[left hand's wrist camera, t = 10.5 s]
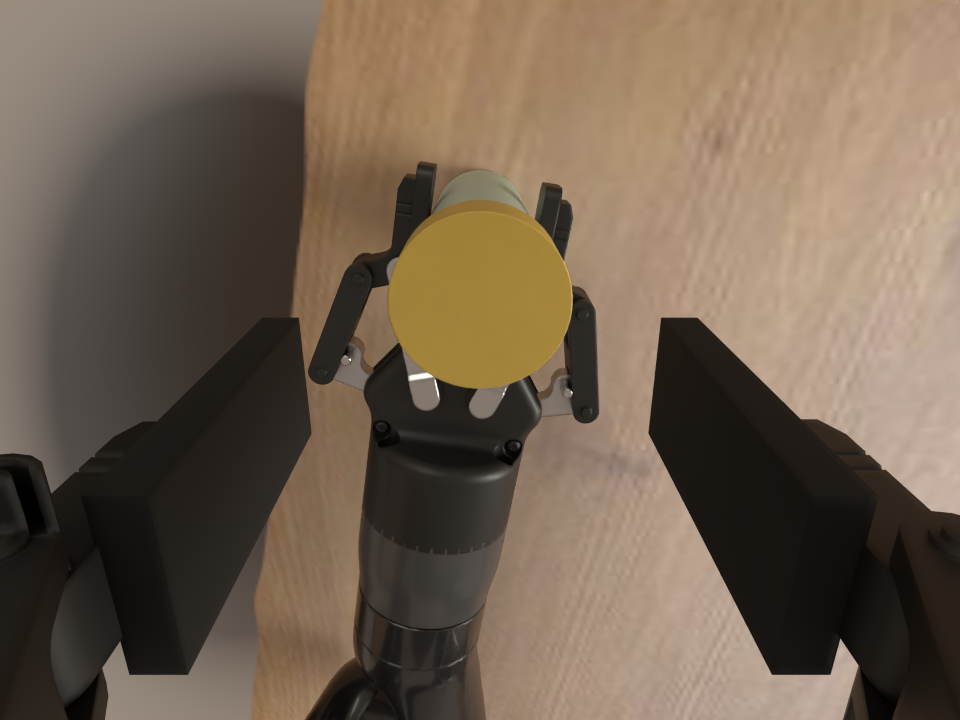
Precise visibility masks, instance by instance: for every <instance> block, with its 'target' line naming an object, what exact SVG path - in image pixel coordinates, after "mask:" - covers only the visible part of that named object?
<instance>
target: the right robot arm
mask: <svg viewBox="0 0 960 720" xmlns="http://www.w3.org/2000/svg"><path fill="white" fill-rule="evenodd" d="M436 169H437V164H434V163H428V162H422V161H421V162H420V163H419V164H418V166H417V172H416V175H413V174H407V175H406V176H405V177H404V178H403V180H402V182H401V184H400V186H399V188H398V193H397V203H396V213H395V220H394V230H393V239H392V246H391V248H390V249H389V250H387V251H385V252H380V253H375V254H370V253H362V254H360V255H358V256H357V257H356V258H355V260H354V261H353V263H352V265H350V266H349V267H348V268H347V270H346V271H345V273H344V275H343V278H342V281H341V283H340V286H339V289H338V291H337V294H336V297H335V299H334V302H333V305H332V307H331V310H330V313H329V315H328V318H327V321H326V323H325V326H324V329H323V331H322V334H321V337H320V339H319V342H318V345H317V347H316V350H315V353H314V355H313V358H312V361H311V363H310V366H309V369H308V374H309V377H310V378H311V380H312V381H314V382H315V383H317V384H321V385H324V384H328V383H330V382H331V381H332V380H336V381H338V382H341V383H344V384H346V385H349V386H351V387H354V388H356V389H359V390H361V391H364V397H365V400H366V402H367V404H368V406H369V409H370V412H371V418H372V422H371V432H370V441H369V450H368V459H367V468H366V477H365V486H364V495H363V504H362V514H361V523H360V531H359V547H358V551H359V569H360V574H359V583H358V592H357V601H356V610H355V619H354V632H353V645H354V651H355V656H356V657H355V658H353V659H351V660H350V661H348V662H347V663H346V664H344V665H343V666H342V667H341V668H340V669H339V670H338V671H337V673H336V674H335V675H334V677H333V678H332V679H331V681H330V682H329V683H328V685H327V686H326V688H325V689H324V691H323V692H322V694H321V696H320V697H319V699H318V700H317V702H316V703H315V705H314V706H313V708H312V710H311V711H310V713H309V714H308V715H307V717H306V718H305V720H486V716H485V705H484V698H483V690H482V683H481V675H480V664H479V657H478V652H477V641H478V636H479V632H480V628H481V623H482V618H483V613H484V608H485V604H486V599H487V594H488V591H489V588H490V585H491V583H492V580H493V578H494V575H495V573H496V570H497V567H498V563H499V559H500V555H501V550H502V546H503V541H504V536H505V532H506V527H507V522H508V517H509V513H510V508H511V503H512V499H513V494H514V489H515V484H516V480H517V475H518V470H519V466H520V461H521V456H522V452H523V447H524V443H525V440H526V438H527V436H528V435H529V433H530V432H531V431H532V429H533V428H534V427H535V426H536V425H537V424H538V422H539V421H540V419H541V417H548V416H559V415H570V414H573V415H574V417H575V419H576V420H577V421H579V422H581V423H590V422H593V421H594V420H595V419H596V418H597V417H598V415H599V393H598V364H597V336H596V312H595V308H594V307H593V305H592V303H591V301H590V299H589V298H588V296H587V294H586V292H585V291H584V290H583V289H582V288H580V287H575V286H573V285H572V295H573V303H572V313H571V319H570V323H569V326H568V329H567V332H566V334H565V336H564V352H565V368H561V369H558V370H556V371H555V372H554V373H553V375H552V377H551V383H550V385H549V387H548V388H547V389H546V390H544V391H542V392H538V391H537V389H536V387H535V385H534V383H533V381H532V379H531V377H530V375H528V376H527V377H525V378H523V379H521V380H519V381H516V382H514V383H511V384H508V385H504V386H500V387H495V388H487V389H474V388H465V387H460V386H456V385H452V384H449V383H447V382H444V381H441V380H439V379H437V378H435V377H433V376H432V375H430V374H429V373H427V372H426V371H424V370H423V369H421V368H420V367H419V366H418V365H417V364H416V363H415V362H414V361H413V360H412V359H411V358H410V357H409V356H408V355H407V354H406V352H405V351H404V349H403V348H402V346H401V345H400V343H398V344H397V345H396V346H395V347H394V348H393V349H392V350H391V351H390V352H389V353H388V354H387V355H386V356H385V357H384V358H383V359H381V360H380V361H379V362H378V363H377V364H376V365H375V366H374V367H373V368H372V367H370V366H369V365H368V364H367V363H366V361H365V359H364V352H365V346H364V343H363V342H362V341H361V340H360V339H359V338H357V337H355V336H353V335H354V333H355V330H356V328H357V325H358V323H359V320H360V318H361V315H362V313H363V310H364V307H365V305H366V302H367V300H368V297H369V295H370V292H371V290H372V288H375V287H381V286H386V285H389V282H390V277H391V274H392V271H393V269H394V266H395V264H396V262H397V260H398V258H399V256H400V254H401V252H402V250H403V248H404V247H405V245H406V243H407V241H408V239H409V238H410V236H411V235H412V233H413V232H414V231H415V230H416V229H417V227H418V226H419V225H420V224H421V223H422V222H423V221H425V220H426V219H427V218H428V217H429V216H431V208H432V201H433V193H434V185H435V177H436ZM561 198H562V188H561V187H560V186H559V185H557V184H551V183H545V182H543V183H542V185H541V189H540V194H539V200H538V205H537V210H536V215H535V220H536V221H537V222H538V223H539V224H540V225H541V226H542V227H543V228H544V229H545V231H546V232H547V233H548V235H549V236H550V237H551V239H552V241H553V242H554V244H555V246H556V248H557V250H558V252H559V253H560V255H561V257H562V259H563V261H564V258H565V253H566V249H567V244H568V239H569V235H570V230H571V225H572V221H573V214H572V208H571V205H570V203H569V202H568V201H567V200H561Z"/></svg>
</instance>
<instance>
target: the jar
mask: <svg viewBox="0 0 960 720" xmlns="http://www.w3.org/2000/svg"><path fill="white" fill-rule="evenodd" d="M470 200H490V201H497V202H501V203H505V204H508V205H511V206H513V207H515V208H518V209H520V210H521V211H523V212H525V213H527V210H526V208H525V206H524V203H523V201H522V199H521V197H520V195H519V193H518V191H517V189H516V188H515V187H514V185H513V184H512V183H511V182H510V181H508V180H507V179H506V178H505V177H503V176H501V175H500V174H497V173H495V172H491V171H487V170H473V171H469V172H465V173H463V174H461V175H459V176H457V177H455V178H454V179H453V180H451V181H450V182H449V183H448V184H447V185H446V187H445V188H444V189H443V191H442V193H441V195H440V196H439V199H438V201H437V203H436V206H435V208H434V210H433V212H432V214H434V213H436V212H437V211H439V210H440V209H443V208H445V207H447V206H449V205H452V204H456V203H459V202H463V201H470ZM527 214H528V213H527Z"/></svg>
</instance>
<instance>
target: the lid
mask: <svg viewBox="0 0 960 720" xmlns="http://www.w3.org/2000/svg"><path fill="white" fill-rule="evenodd" d="M572 303H573V295H572V285H571V281H570V277H569V273H568V271H567V268H566V265H565V263H564V261H563V259H562V257H561V255H560V253H559V252H558V250H557V248H556V246H555V244H554V242H553V241H552V239H551V237H550V236H549V235H548V233H547V232H546V231H545V229H544V228H543V227H542V226H541V225H540V224H539V223H538V222H537V221H536V220H535V219H533V218H532V217H531V216H529V215H528V214H527V213H525V212H523V211H521V210H520V209H518V208H515V207H513V206H511V205H508V204H505V203H501V202H497V201H490V200H470V201H463V202H459V203H456V204H452V205H449V206H447V207H445V208H443V209H440V210H439V211H437V212H436V213H434V214H432V215H431V216H429V217H428V218H427V219H426V220H425V221H423V222H422V223H421V224H420V225H419V226H418V227H417V229H416V230H415V231H414V232H413V233H412V235H411V236H410V238H409V239H408V241H407V243H406V245H405V247H404V248H403V250H402V252H401V254H400V256H399V258H398V260H397V262H396V264H395V266H394V269H393V271H392V274H391V277H390V282H389V287H388V312H389V317H390V322H391V325H392V328H393V331H394V334H395V336H396V337H397V339H398V341H399V343H400V345H401V346H402V348H403V349H404V351H405V352H406V354H407V355H408V356H409V357H410V358H411V359H412V360H413V361H414V362H415V363H416V364H417V365H418V366H419V367H420V368H421V369H423V370H424V371H426V372H427V373H429V374H430V375H432V376H433V377H435V378H437V379H439V380H441V381H444V382H447V383H449V384H452V385H456V386H460V387H465V388H474V389H487V388H495V387H500V386H504V385H508V384H511V383H514V382H516V381H519V380H521V379H523V378H525V377H527V376H528V375H530V374H532V373H533V372H535V371H536V370H537V369H539V368H540V367H541V366H542V365H543V364H544V363H546V362H547V361H548V360H549V358H550V357H551V356H552V355H553V354H554V353H555V351H556V350H557V348H558V347H559V345H560V344H561V342H562V340H563V338H564V336H565V334H566V332H567V329H568V326H569V323H570V319H571V313H572Z"/></svg>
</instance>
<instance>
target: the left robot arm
mask: <svg viewBox="0 0 960 720" xmlns="http://www.w3.org/2000/svg"><path fill="white" fill-rule="evenodd" d="M310 435H311V424H310V415H309V406H308V397H307V388H306V379H305V370H304V361H303V352H302V342H301V333H300V324H299V318H262V319H261V320H260V321H259V322H258V323H257V324H256V325H255V326H254V327H253V328H252V329H251V330H250V331H249V332H248V333H247V334H246V335H245V336H244V337H242V338H241V339H240V340H239V341H238V342H237V344H235V345H234V346H233V347H232V348H231V349H230V350H229V351H228V352H227V353H226V354H225V355H224V356H223V357H222V358H221V359H220V360H219V361H218V362H217V363H216V364H215V365H214V366H213V367H212V368H211V369H210V370H209V371H208V372H207V373H206V374H205V375H204V376H203V377H202V378H201V379H200V380H199V381H198V382H197V383H196V384H195V385H194V386H193V387H192V388H191V389H190V390H189V391H188V392H187V393H186V394H184V396H182V397H181V398H180V399H179V400H178V401H177V402H176V403H175V404H174V405H173V406H172V407H171V408H170V409H169V410H168V411H167V412H166V413H165V414H164V415H163V416H162V417H161V418H160V419H159V420H158V421H157V422H141V423H140V424H138V425H136V426H134V427H132V428H130V429H128V430H126V431H124V432H122V433H120V434H118V435H116V436H115V437H113V438H112V439H111V440H110V441H109V442H108V443H107V444H106V445H105V446H103V447H102V448H101V449H100V450H99V451H98V452H97V453H96V454H95V457H92V458H90V459H89V460H88V461H87V462H86V463H85V464H84V465H83V466H81V467H80V468H79V472H75V473H74V474H73V475H72V476H70V477H69V478H68V479H67V480H66V481H65V482H64V483H63V484H62V485H61V486H60V487H58V488H57V489H56V490H55V491H54V492H53V493H52V494H51V492H50V488H49V485H48V481H47V478H46V475H45V471H44V468H43V464H42V462H41V461H39V460H38V459H36V458H35V457H33V456H30V455H22V454H1V455H0V720H105V715H106V708H107V701H108V691H107V684H106V680H105V677H104V673H103V670H102V667H103V666H104V664H105V663H106V661H107V660H108V658H109V657H110V655H111V654H112V652H113V651H114V649H115V648H116V646H117V645H118V643H119V642H120V641H121V645H122V649H123V652H124V656H125V660H126V663H127V667H128V671H129V674H130V675H188V674H189V672H190V670H191V668H192V666H193V664H194V662H195V660H196V658H197V656H198V654H199V652H200V650H201V648H202V646H203V644H204V642H205V640H206V638H207V636H208V635H209V633H210V631H211V629H212V627H213V625H214V623H215V621H216V619H217V617H218V615H219V613H220V611H221V609H222V607H223V605H224V603H225V601H226V599H227V597H228V595H229V593H230V592H231V590H232V588H233V586H234V584H235V582H236V580H237V578H238V576H239V574H240V572H241V570H242V568H243V566H244V564H245V562H246V560H247V558H248V556H249V554H250V552H251V550H252V549H253V547H254V545H255V543H256V541H257V539H258V537H259V535H260V533H261V531H262V529H263V527H264V525H265V523H266V521H267V519H268V517H269V515H270V513H271V511H272V509H273V508H274V506H275V504H276V502H277V500H278V498H279V496H280V494H281V492H282V490H283V488H284V486H285V484H286V482H287V480H288V478H289V476H290V474H291V472H292V470H293V468H294V466H295V465H296V463H297V461H298V459H299V457H300V455H301V453H302V451H303V449H304V447H305V445H306V443H307V441H308V439H309V437H310ZM649 435H650V437H651V439H652V441H653V443H654V445H655V447H656V449H657V451H658V453H659V455H660V457H661V459H662V461H663V463H664V465H665V466H666V468H667V470H668V472H669V474H670V476H671V478H672V480H673V482H674V484H675V486H676V488H677V490H678V492H679V494H680V496H681V498H682V500H683V502H684V504H685V506H686V508H687V509H688V511H689V513H690V515H691V517H692V519H693V521H694V523H695V525H696V527H697V529H698V531H699V533H700V535H701V537H702V539H703V541H704V543H705V545H706V547H707V549H708V551H709V552H710V554H711V556H712V558H713V560H714V562H715V564H716V566H717V568H718V570H719V572H720V574H721V576H722V578H723V580H724V582H725V584H726V586H727V588H728V590H729V592H730V593H731V595H732V597H733V599H734V601H735V603H736V605H737V607H738V609H739V611H740V613H741V615H742V617H743V619H744V621H745V623H746V625H747V627H748V629H749V631H750V633H751V635H752V636H753V638H754V640H755V642H756V644H757V646H758V648H759V650H760V652H761V654H762V656H763V658H764V660H765V662H766V664H767V666H768V668H769V670H770V672H771V674H772V675H830V674H831V671H832V667H833V663H834V660H835V656H836V652H837V649H838V645H839V641H840V638H841V640H842V641H843V643H844V644H845V646H846V647H847V649H848V650H849V652H850V653H851V655H852V656H853V658H854V659H855V661H856V662H857V664H858V665H859V666H858V670H857V673H856V676H855V680H854V683H853V687H852V690H851V694H850V697H849V700H848V704H847V707H846V711H845V714H844V718H843V720H960V515H957V514H953V513H945V512H935V511H931V510H930V509H928V508H927V507H926V506H925V505H924V504H923V503H922V502H921V501H920V500H918V499H917V498H916V497H915V496H914V495H913V494H912V493H911V492H910V491H909V490H907V489H906V488H905V487H904V486H903V485H902V484H901V483H900V482H899V481H897V480H896V479H895V478H894V477H893V476H892V475H891V474H890V473H889V472H887V471H886V470H882V469H881V465H880V464H879V463H877V462H876V461H875V460H874V459H873V458H872V457H871V456H870V455H866V454H865V451H864V450H863V449H862V448H861V447H860V446H859V445H857V444H856V443H855V442H854V441H853V440H852V439H851V438H850V437H849V436H848V435H846V434H845V433H843V432H841V431H839V430H837V429H835V428H833V427H831V426H829V425H827V424H825V423H823V422H821V421H819V420H817V419H800V418H799V417H798V416H797V415H796V414H795V413H794V412H793V411H792V410H791V409H790V408H789V407H788V406H787V405H786V404H785V403H784V402H783V401H782V400H781V399H780V398H779V397H778V396H777V395H776V394H774V393H773V392H772V391H771V390H770V389H769V388H768V387H767V386H766V385H765V384H764V383H763V382H762V381H761V380H760V379H759V378H758V377H757V376H756V375H755V374H754V373H753V372H752V371H751V370H750V369H749V368H748V367H747V366H746V365H745V364H744V363H743V362H742V361H741V360H740V359H739V358H738V357H737V356H736V355H735V354H734V353H733V352H732V351H731V350H730V349H729V348H728V347H727V346H726V345H725V344H724V343H723V342H722V341H721V340H720V339H719V338H718V337H716V336H715V335H714V334H713V333H712V332H711V331H710V330H709V329H708V328H707V327H706V326H705V325H704V324H703V323H702V322H701V321H700V320H699V319H698V318H661V324H660V333H659V342H658V352H657V361H656V370H655V379H654V388H653V397H652V406H651V415H650V424H649Z"/></svg>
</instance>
